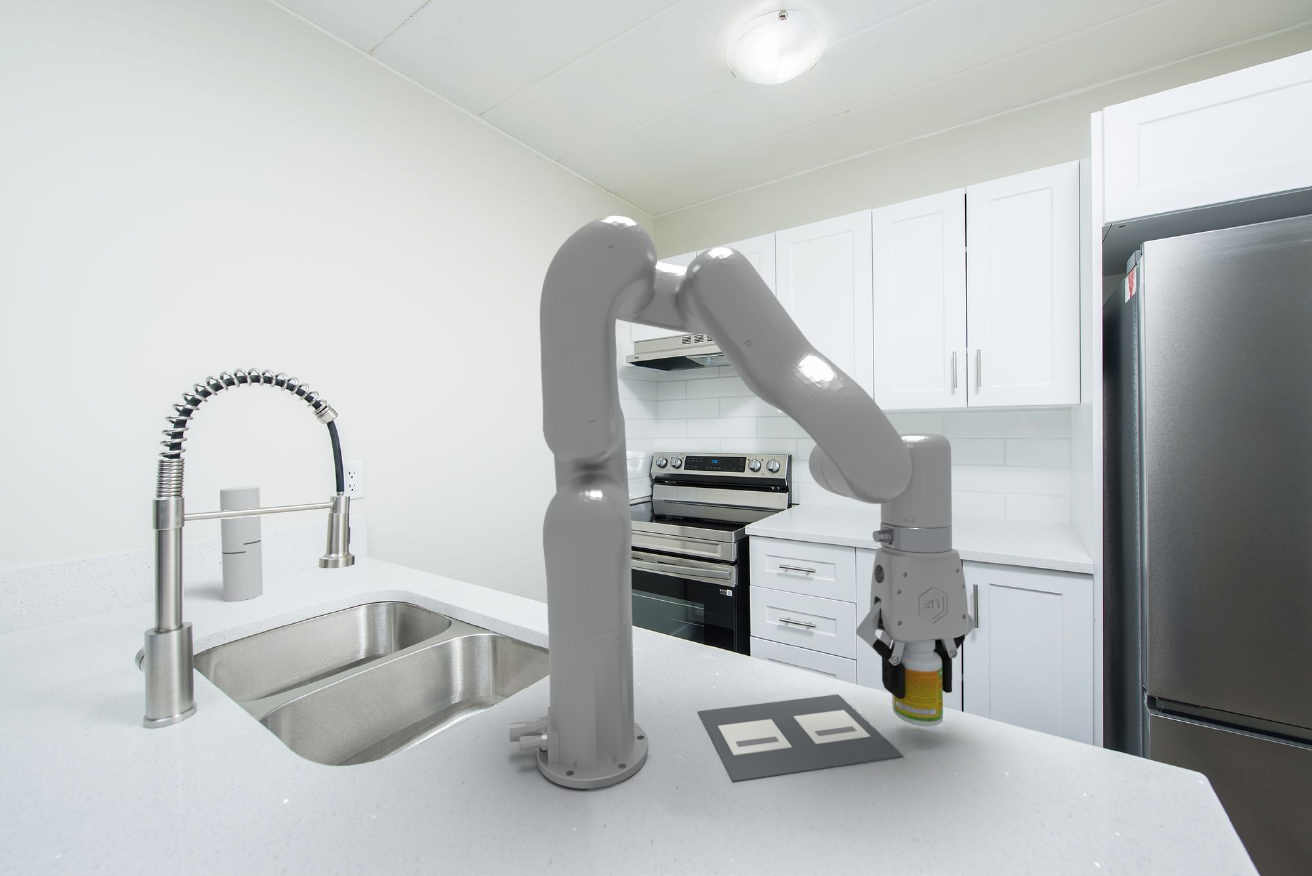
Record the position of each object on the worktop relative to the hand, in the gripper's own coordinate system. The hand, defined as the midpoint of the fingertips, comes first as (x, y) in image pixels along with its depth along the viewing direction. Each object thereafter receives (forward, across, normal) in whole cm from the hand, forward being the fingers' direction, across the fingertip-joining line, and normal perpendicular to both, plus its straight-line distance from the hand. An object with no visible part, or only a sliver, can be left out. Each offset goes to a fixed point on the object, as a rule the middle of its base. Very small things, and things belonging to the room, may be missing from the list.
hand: (917, 688), depth 63 cm
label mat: (+6, -14, +4) cm, 16 cm away
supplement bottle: (+3, 0, 0) cm, 3 cm away
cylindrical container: (+6, -113, +82) cm, 140 cm away
